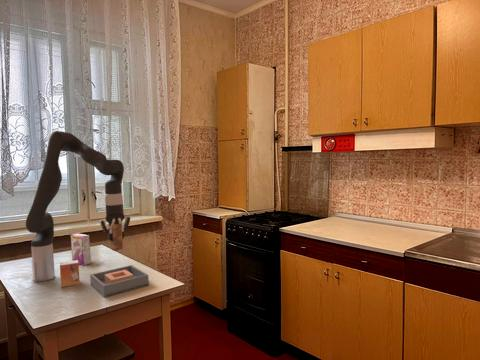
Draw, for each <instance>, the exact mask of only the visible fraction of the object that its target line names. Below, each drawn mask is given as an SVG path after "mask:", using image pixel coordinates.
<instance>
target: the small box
mask: <svg viewBox="0 0 480 360" xmlns="http://www.w3.org/2000/svg"><path fill="white" fill-rule="evenodd" d="M79 267H80V264H79V263H78V260H75V261H72V260H70V261H63V262H59V277H60V288H65V287H71V286H78V285H80V284H81V283H80V268H79Z"/></svg>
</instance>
